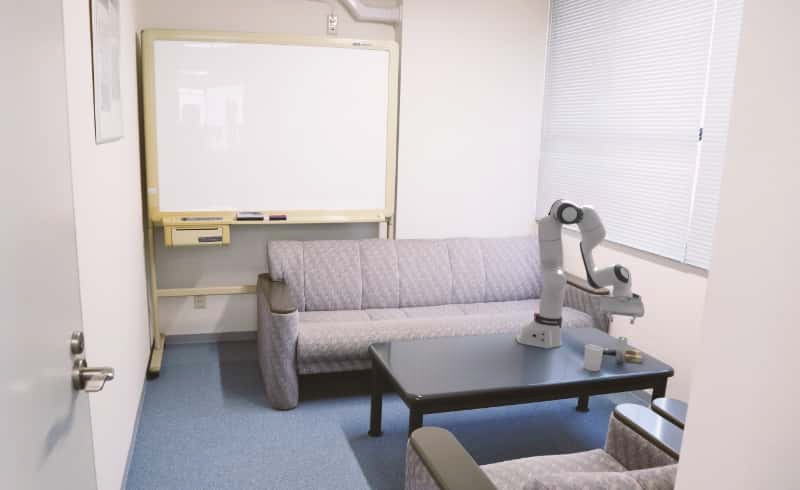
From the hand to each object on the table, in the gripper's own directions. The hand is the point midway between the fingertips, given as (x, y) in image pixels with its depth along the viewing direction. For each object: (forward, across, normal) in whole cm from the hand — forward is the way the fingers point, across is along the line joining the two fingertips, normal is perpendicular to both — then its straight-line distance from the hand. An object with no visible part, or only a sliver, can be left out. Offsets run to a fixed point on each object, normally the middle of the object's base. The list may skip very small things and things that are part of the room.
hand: (621, 322), depth 287 cm
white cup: (+28, -13, -5) cm, 31 cm away
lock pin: (+11, -5, +12) cm, 17 cm away
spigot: (+20, 0, +3) cm, 20 cm away
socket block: (+13, +5, +10) cm, 17 cm away
